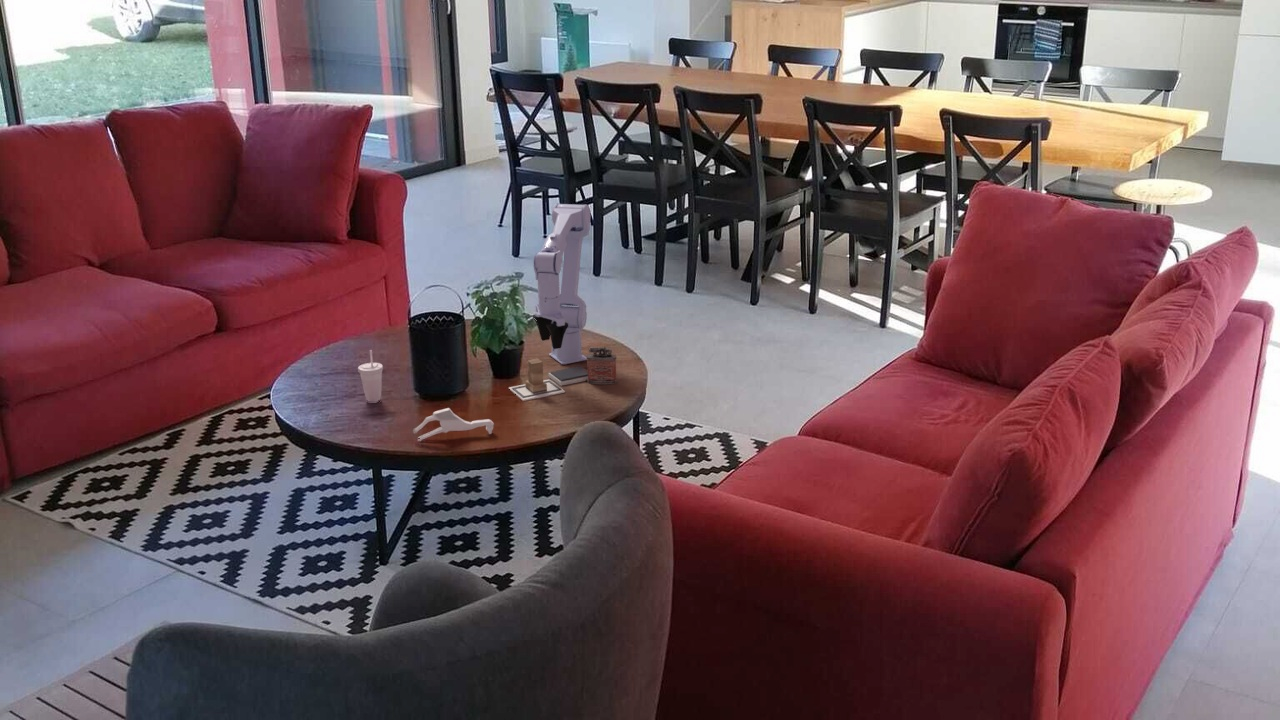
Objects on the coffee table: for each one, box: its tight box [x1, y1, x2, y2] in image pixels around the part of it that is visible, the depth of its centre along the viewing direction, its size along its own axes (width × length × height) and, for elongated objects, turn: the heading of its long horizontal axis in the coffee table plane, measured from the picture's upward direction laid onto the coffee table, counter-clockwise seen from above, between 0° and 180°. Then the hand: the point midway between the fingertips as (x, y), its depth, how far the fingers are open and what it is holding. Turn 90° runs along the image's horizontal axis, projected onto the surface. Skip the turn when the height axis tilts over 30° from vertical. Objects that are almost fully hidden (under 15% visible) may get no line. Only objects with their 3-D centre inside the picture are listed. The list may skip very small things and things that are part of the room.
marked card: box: [508, 378, 566, 402], centre depth 328 cm, size 10×12×1 cm
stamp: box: [524, 358, 547, 394], centre depth 327 cm, size 5×4×8 cm
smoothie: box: [357, 349, 384, 401], centre depth 321 cm, size 6×6×14 cm
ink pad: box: [547, 365, 588, 387], centre depth 337 cm, size 8×10×2 cm
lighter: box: [586, 345, 618, 385], centre depth 332 cm, size 8×3×10 cm, turn 84°
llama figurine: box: [412, 407, 495, 442], centre depth 300 cm, size 2×11×18 cm
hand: (551, 343), depth 333 cm, fingers open, 7 cm apart
